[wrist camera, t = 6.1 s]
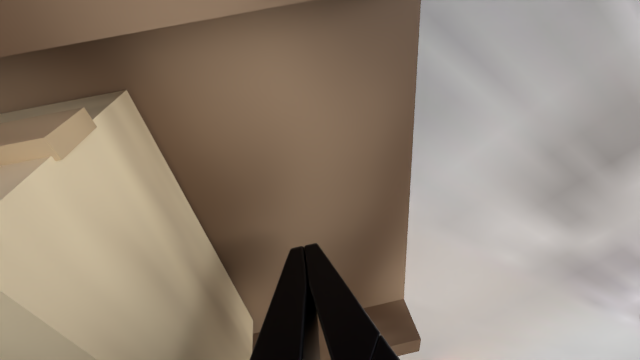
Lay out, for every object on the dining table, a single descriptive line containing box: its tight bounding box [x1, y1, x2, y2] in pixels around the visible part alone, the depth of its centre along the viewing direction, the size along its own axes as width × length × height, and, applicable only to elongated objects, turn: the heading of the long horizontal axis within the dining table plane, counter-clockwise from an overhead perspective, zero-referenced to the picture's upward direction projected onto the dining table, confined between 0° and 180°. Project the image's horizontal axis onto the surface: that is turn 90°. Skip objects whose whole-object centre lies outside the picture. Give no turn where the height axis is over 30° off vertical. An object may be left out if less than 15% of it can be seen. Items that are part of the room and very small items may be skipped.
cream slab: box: [0, 90, 253, 360], centre depth 8 cm, size 8×12×5 cm
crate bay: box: [0, 0, 421, 360], centre depth 10 cm, size 17×16×4 cm
